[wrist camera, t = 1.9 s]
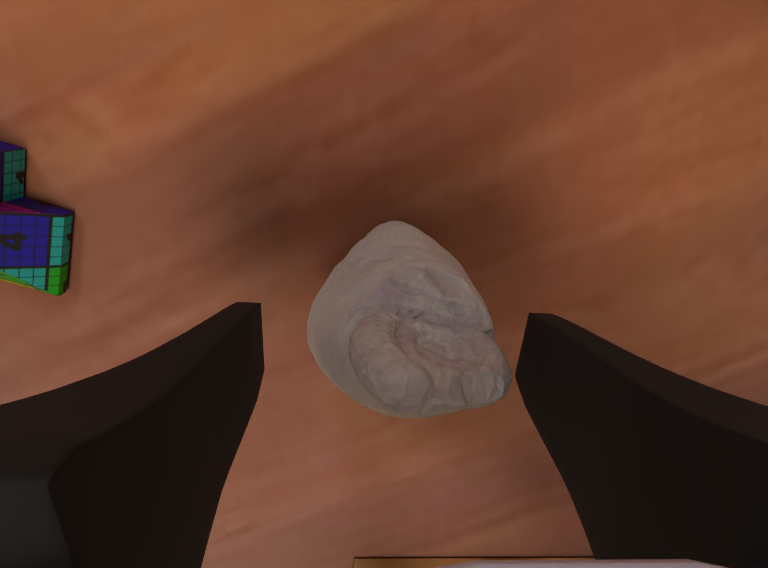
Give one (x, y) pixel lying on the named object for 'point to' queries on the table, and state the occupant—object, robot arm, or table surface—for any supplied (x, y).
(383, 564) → the grid board
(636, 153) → the table surface
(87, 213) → the table surface
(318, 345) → the fossil
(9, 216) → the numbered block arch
